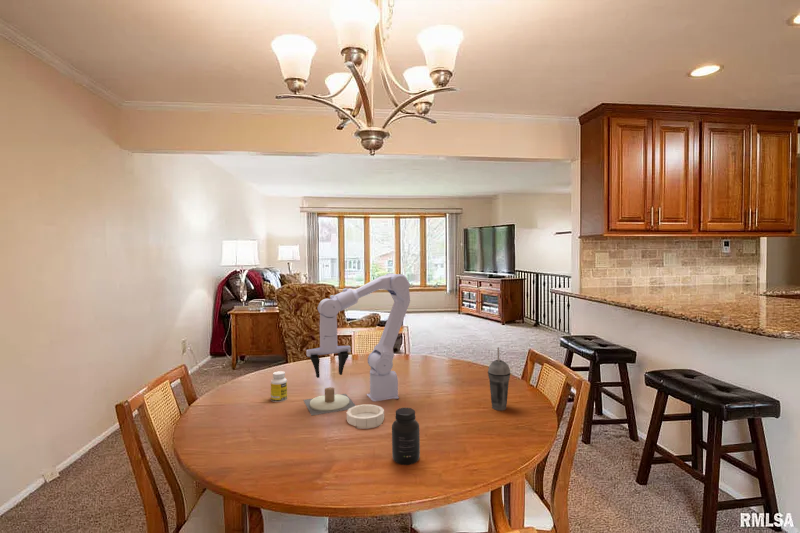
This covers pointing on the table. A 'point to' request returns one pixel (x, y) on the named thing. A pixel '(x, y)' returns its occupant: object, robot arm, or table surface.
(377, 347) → the robot arm
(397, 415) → the supplement bottle
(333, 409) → the lid
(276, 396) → the supplement bottle
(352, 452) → the table surface
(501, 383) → the beverage cup
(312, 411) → the mat
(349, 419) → the bowl
